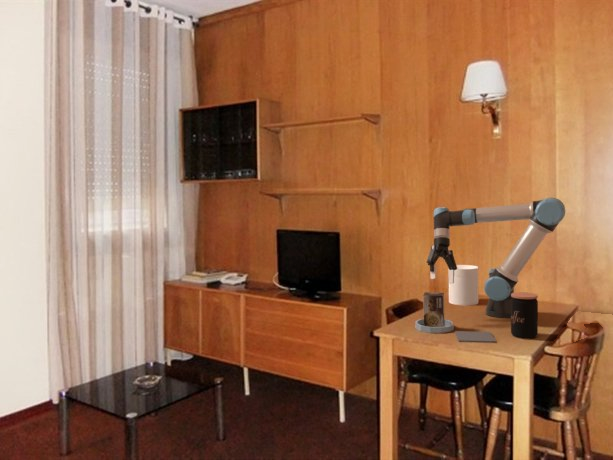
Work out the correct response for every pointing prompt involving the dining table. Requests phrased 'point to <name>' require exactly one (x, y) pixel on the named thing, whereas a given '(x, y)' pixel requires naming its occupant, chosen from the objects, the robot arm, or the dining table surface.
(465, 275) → the canister
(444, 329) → the faceted grey ring
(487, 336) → the rubber mat
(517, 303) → the coffee jar
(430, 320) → the coffee box
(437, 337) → the dining table surface
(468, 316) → the dining table surface
